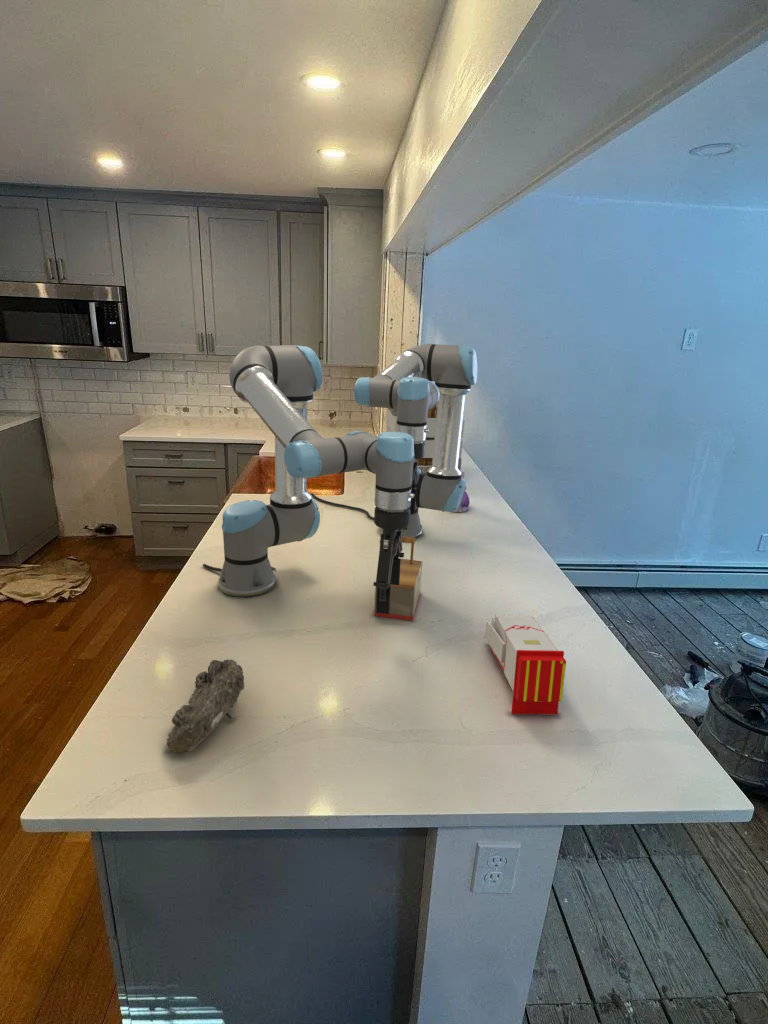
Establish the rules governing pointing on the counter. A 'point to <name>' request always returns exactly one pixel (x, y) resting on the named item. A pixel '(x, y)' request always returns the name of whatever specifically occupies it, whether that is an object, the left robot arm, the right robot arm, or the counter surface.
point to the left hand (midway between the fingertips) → (388, 597)
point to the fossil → (206, 705)
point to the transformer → (430, 436)
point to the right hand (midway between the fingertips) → (405, 519)
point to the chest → (402, 601)
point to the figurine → (463, 499)
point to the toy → (527, 663)
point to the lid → (409, 568)
